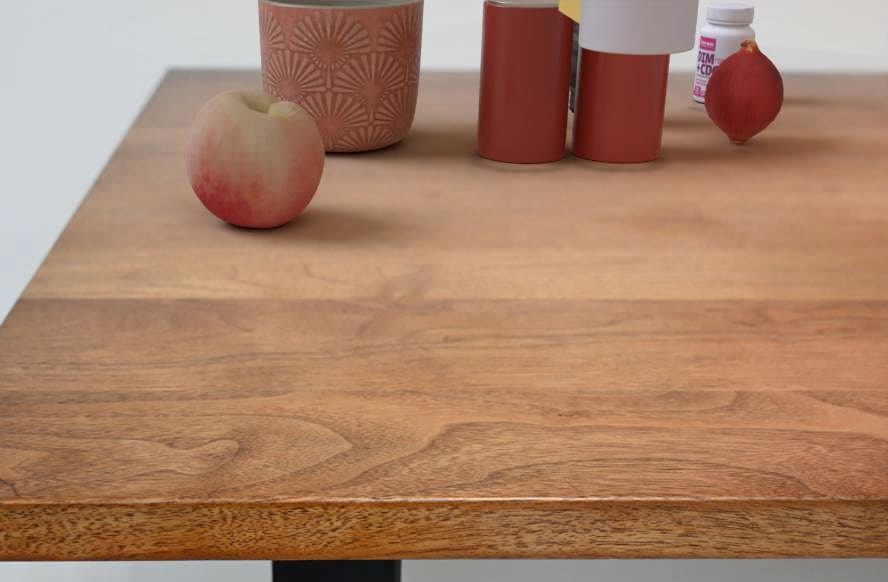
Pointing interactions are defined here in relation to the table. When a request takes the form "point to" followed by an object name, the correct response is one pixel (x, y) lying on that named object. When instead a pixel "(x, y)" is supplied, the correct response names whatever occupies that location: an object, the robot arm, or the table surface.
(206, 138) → the fruit
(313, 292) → the table surface
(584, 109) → the cans
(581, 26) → the white cylinder yellow bar
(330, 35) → the planter
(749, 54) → the onion
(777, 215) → the table surface
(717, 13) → the pill bottle
